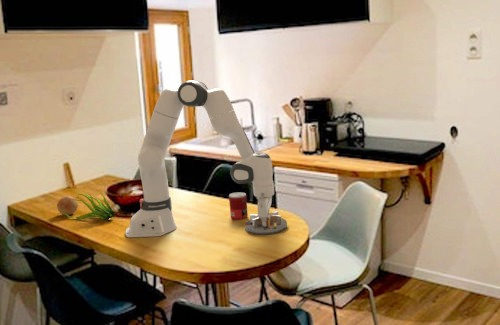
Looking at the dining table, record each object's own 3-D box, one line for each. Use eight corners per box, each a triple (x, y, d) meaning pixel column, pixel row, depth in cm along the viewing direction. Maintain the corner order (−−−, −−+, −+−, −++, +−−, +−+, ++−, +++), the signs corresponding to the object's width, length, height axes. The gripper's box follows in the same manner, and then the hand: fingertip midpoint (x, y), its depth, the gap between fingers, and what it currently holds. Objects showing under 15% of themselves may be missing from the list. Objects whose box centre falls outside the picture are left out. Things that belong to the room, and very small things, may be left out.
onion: (57, 214, 269) (54, 195, 267) (77, 210, 273) (75, 192, 271) (59, 219, 261) (56, 199, 259) (79, 215, 264) (77, 196, 262)
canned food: (246, 219, 239) (244, 196, 236) (229, 220, 240) (227, 197, 238) (249, 214, 246) (247, 191, 243) (232, 214, 247) (230, 192, 245)
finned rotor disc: (284, 226, 220) (283, 218, 219) (254, 230, 218) (254, 221, 217) (276, 216, 234) (276, 208, 233) (248, 219, 232) (248, 212, 231)
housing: (247, 237, 217) (247, 227, 216) (243, 223, 234) (242, 213, 233) (290, 232, 219) (290, 222, 218) (283, 218, 236) (282, 209, 235)
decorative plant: (88, 209, 275) (84, 182, 272) (117, 219, 254) (113, 190, 250) (55, 218, 263) (51, 190, 260) (82, 230, 242) (78, 199, 238)
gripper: (268, 197, 212) (270, 229, 215) (273, 184, 232) (275, 213, 235) (253, 198, 213) (255, 230, 216) (259, 184, 233) (261, 214, 236)
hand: (265, 221), depth 226 cm, fingers open, 8 cm apart
